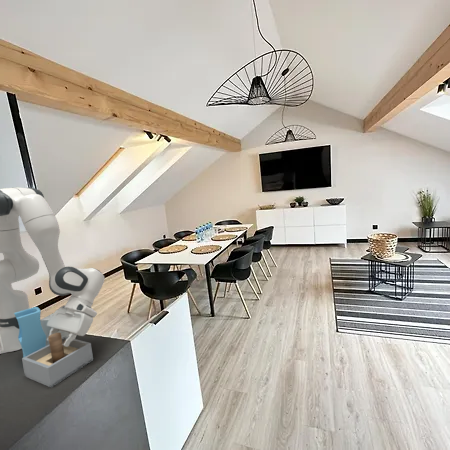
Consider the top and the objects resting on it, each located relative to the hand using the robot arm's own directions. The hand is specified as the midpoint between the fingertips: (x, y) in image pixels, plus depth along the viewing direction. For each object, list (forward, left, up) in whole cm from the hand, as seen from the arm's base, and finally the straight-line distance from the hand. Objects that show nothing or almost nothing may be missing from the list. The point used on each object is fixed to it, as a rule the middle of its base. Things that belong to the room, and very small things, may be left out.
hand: (56, 343), depth 102 cm
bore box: (0, 0, -9) cm, 9 cm away
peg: (0, 0, -8) cm, 8 cm away
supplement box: (-20, +11, -10) cm, 25 cm away
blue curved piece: (-16, 0, -10) cm, 19 cm away
